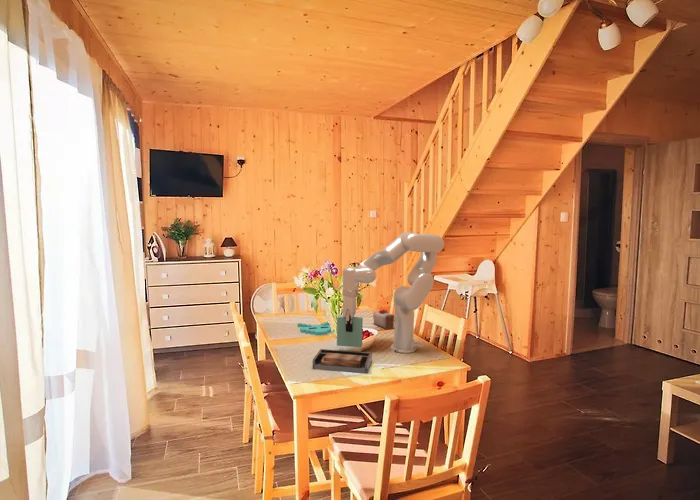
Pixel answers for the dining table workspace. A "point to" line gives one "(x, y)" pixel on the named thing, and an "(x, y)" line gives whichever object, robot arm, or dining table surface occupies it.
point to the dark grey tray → (363, 369)
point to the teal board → (349, 337)
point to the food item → (383, 319)
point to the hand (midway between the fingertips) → (349, 330)
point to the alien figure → (315, 328)
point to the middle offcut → (338, 363)
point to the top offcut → (343, 358)
